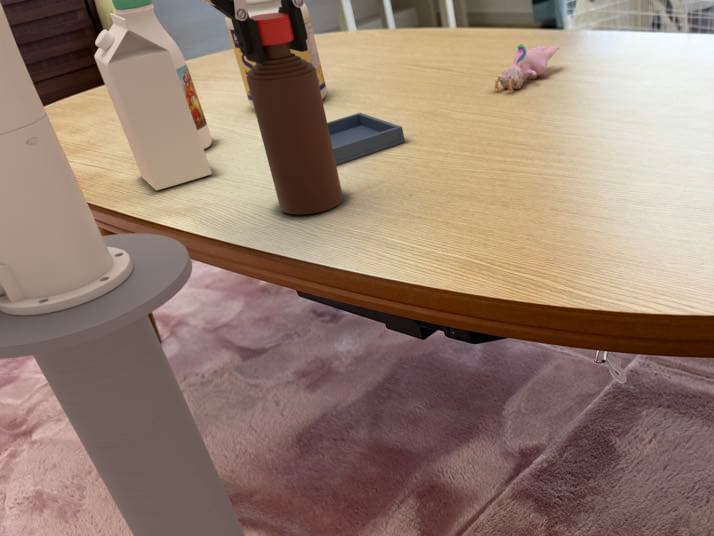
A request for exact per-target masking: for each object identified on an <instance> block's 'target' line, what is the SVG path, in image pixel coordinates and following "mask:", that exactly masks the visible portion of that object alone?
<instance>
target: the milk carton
mask: <svg viewBox="0 0 714 536" xmlns="http://www.w3.org/2000/svg"><path fill="white" fill-rule="evenodd" d="M109 16H110V18H111V21H112V25H111V27H110V28H109V29H103V30H101V32H100V33H99V34H98V36H97V38H96V40H95V42H94V43H95V46H96V47H98V48H97V50H96V52H95V54H94V61H95V62H96V65H97V68H98V71H99V73H100V75H101V78H102V80H103V84H104V85H105V87H106V90H107V93H108V95H109V98H110V100H111V103H112V105H113V108H114V111H115V114H116V116H117V118H118V120H119V123H120V125H121V128H122V131H123V133H124V135H125V138H126V140H127V143H128V145H129V148H130V150H131V153H132V155H133V158H134V161H135V163H136V165H137V168H138V170H139V173H140V174H141V177H142V179H143V180H144V181H145V182H146V183H147V184H148V185H149V186H151V188H153V189H154V190H155V191H160V190H163V189H166V188H170V187H174V186H177V185H181V184H184V183H188V182H191V181H194V180H197V179H201V178H203V177H207V176H211V175H213V173H212V170H211V166H210V164H209V161H208V158H207V155H206V152H205V149H203V146H202V143H201V141H200V138H199V135H198V132H197V129H196V126H195V123H194V120H193V117H192V115H191V112H190V109H189V106H188V103H187V100H186V97H185V94H184V91H183V89H182V86H181V83H180V80H179V77H178V74H177V71H176V68H175V65H174V63H173V60H172V57H171V54H170V51H169V50H167V49H165V48H163V47H161V46H160V45H158V44H156V43H154V42H152V41H150V40H148V39H146V38H144V37H142V36H141V35H139V34H137V33H135V32H133V31H131V30H129V27H128V24H127V22H126V19H124V18H122V17H120V16H119V15H118V14H115V13H111V12H110V13H109Z"/></svg>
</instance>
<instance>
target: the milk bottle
mask: <svg viewBox="0 0 714 536" xmlns="http://www.w3.org/2000/svg"><path fill="white" fill-rule="evenodd" d="M111 3H112V6H113V7H114V9H115V13H116V15H118V16H119V17H122V18H124V19H126V22H127V24H128V27H129V30H131V31H133V32H135V33H137V34H139V35H141V36H142V37H144V38H146V39H148V40H150V41H152V42H154V43H156V44H158V45H160V46H161V47H163V48H165V49H167V50H169V51H170V54H171V57H172V60H173V63H174V65H175V68H176V71H177V74H178V77H179V80H180V83H181V86H182V89H183V91H184V94H185V97H186V100H187V103H188V106H189V109H190V112H191V115H192V117H193V120H194V123H195V126H196V129H197V132H198V135H199V138H200V141H201V143H202V146H203V149H204V150H205V149H208V147H211V145H212V143H213V138H212V135H211V132H210V128H209V125H208V123H207V119H206V117H205V114H204V110H203V108H202V104H201V102H200V98H199V96H198V93H197V90H196V87H195V84H194V81H193V78H192V76H191V72H190V70H189V67H188V65H187V61H186V59H185V57H184V54H183V53H182V51H181V49H180V47H179V46H178V44H177V43H176V41H175V40H174V39H173V38H172V37H171V36H170V34H169V33H168V32H167V31H166V30H165V28H164V27H163V25H162V23H161V22H160V21H159V19H158V17H157V16H156V13H155V11H154V8H155V6H154V3H153V0H111Z"/></svg>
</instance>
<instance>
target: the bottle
mask: <svg viewBox="0 0 714 536" xmlns="http://www.w3.org/2000/svg"><path fill="white" fill-rule="evenodd" d="M262 47H263V50H264V54H265V57H266V60H265V62H263V63H256V65H255V66H253V67H252V69H251V70H249V71H248V75H247V82H248V86H249V90H250V93H251V97H252V101H253V105H254V108H253V109H254V112H255V116H256V120H257V123H258V127H259V132H260V136H261V140H262V143H263V146H264V150H265V155H266V158H267V163H268V166H269V170H270V174H271V178H272V182H273V185H274V189H275V194H276V197H277V200H278V201H277V202H278V205H279V209H280V210H281V211H282V212H283V213H286V214H289V215H312V214H317V213H323V212H326V211H329V210H331V209H333V208H335V207H337V206H339V205H340V204H341V203H342V202H343V201H344V197H343V191H342V186H341V182H340V181H341V180H340V177H339V172H338V167H337V165H336V162H335V157H334V153H333V148H332V143H331V139H330V134H329V129H328V124H327V123H328V121H327V116H326V110H325V106H324V101H323V99H322V96H321V91H320V87H319V82H318V77H317V73H316V68H315V67H313V65H312V63H309V62H307V61H306V60H304V59H301V57H299V56H296V55H295V54H294V53H291V51H290V46H289V42H286V43H282V44H276V45H265V46H262Z"/></svg>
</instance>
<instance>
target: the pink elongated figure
mask: <svg viewBox="0 0 714 536" xmlns="http://www.w3.org/2000/svg"><path fill="white" fill-rule="evenodd" d="M516 48H517V52H516V53H515V56H514V59H513V60H514V61H513V64H512V65H511V66H509V67H508V68H506V69H503V70H502V71H501V73H502V75H501V76H498V77H497V80H496V79H494V81H495V82H494V84H495V85H494V90H496V92H497V93H498V91H499V90H501V88H500V87H499V83H500V85H501V86H502V87H503V88H504V89H507V91H510V94H512V92H514V90H519V89H521V88H522V87H523V85H524V81H525V80H526V79H527V78H528V79H532V80H533V79H537V77H538V76H541V75H542V74H544V73H545V71H546V70H547V67H548V62H549V61H550V60H551V58H552V57H553V56H554V55H555V53H556V52H557V51H558V50H560V46H557V45H552V46H547V45H537V46H535V47H534V48H531V49H528V50H527V49H526V46H525V45H523V44H522V43H519V44H518V45H517V47H516Z"/></svg>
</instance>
